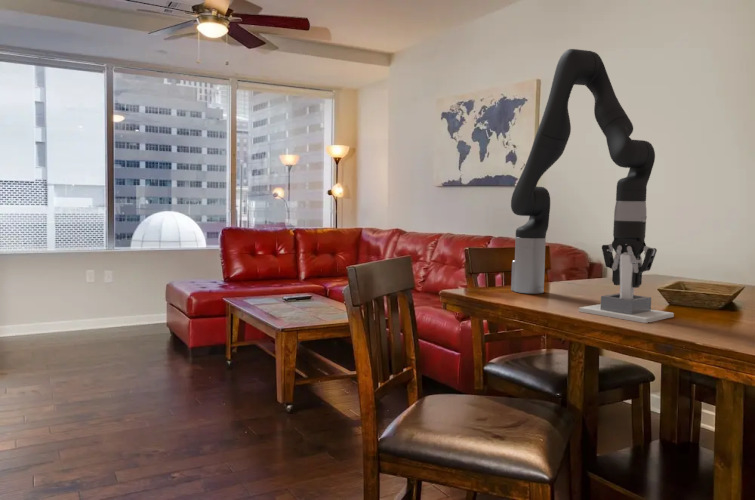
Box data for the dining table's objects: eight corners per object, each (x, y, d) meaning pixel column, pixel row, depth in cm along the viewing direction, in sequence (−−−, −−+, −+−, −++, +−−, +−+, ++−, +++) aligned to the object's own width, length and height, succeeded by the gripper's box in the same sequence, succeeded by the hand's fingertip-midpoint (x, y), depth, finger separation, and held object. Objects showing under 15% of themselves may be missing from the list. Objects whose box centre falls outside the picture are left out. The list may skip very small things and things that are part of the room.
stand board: (578, 311, 155) (578, 307, 155) (607, 306, 164) (607, 302, 164) (645, 323, 141) (645, 319, 141) (673, 316, 150) (673, 312, 150)
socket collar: (600, 309, 153) (601, 296, 153) (619, 306, 159) (620, 293, 159) (631, 314, 147) (632, 300, 146) (650, 310, 152) (651, 297, 152)
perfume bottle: (638, 304, 150) (641, 245, 148) (619, 303, 151) (622, 244, 149) (634, 301, 154) (636, 243, 153) (616, 300, 155) (618, 243, 154)
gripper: (596, 218, 154) (593, 284, 155) (650, 220, 143) (646, 290, 144) (611, 218, 159) (608, 282, 160) (665, 220, 148) (661, 288, 149)
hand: (626, 285), depth 152 cm, fingers closed on perfume bottle, 4 cm apart
